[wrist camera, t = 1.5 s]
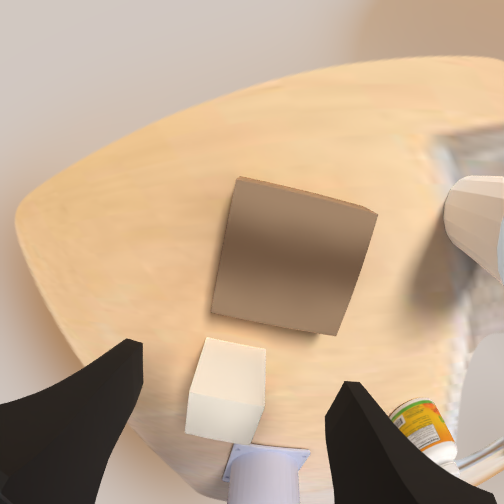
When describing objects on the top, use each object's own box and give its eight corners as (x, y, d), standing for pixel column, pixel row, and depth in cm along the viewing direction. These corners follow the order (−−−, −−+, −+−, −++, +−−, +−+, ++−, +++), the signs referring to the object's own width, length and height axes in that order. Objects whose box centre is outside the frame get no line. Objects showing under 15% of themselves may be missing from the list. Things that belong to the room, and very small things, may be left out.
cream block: (253, 389, 23) (249, 445, 17) (200, 378, 23) (185, 432, 17) (265, 348, 22) (264, 406, 16) (206, 336, 21) (189, 391, 16)
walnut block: (327, 313, 21) (335, 336, 18) (217, 291, 21) (210, 312, 18) (361, 205, 18) (378, 214, 15) (240, 176, 18) (236, 179, 15)
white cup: (437, 264, 19) (491, 307, 12) (432, 170, 17) (498, 182, 10) (498, 248, 18) (552, 279, 11) (496, 164, 16) (559, 175, 9)
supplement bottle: (433, 415, 24) (465, 480, 15) (390, 436, 25) (412, 506, 16) (431, 387, 23) (470, 459, 13) (382, 411, 23) (410, 491, 14)
